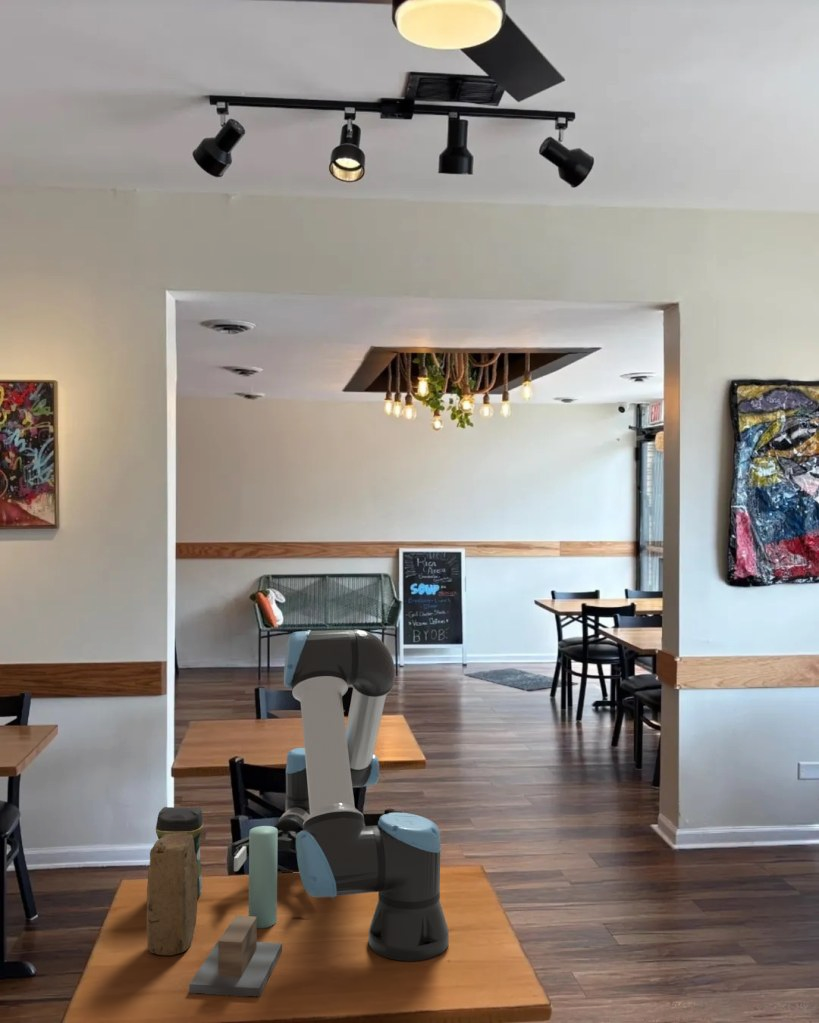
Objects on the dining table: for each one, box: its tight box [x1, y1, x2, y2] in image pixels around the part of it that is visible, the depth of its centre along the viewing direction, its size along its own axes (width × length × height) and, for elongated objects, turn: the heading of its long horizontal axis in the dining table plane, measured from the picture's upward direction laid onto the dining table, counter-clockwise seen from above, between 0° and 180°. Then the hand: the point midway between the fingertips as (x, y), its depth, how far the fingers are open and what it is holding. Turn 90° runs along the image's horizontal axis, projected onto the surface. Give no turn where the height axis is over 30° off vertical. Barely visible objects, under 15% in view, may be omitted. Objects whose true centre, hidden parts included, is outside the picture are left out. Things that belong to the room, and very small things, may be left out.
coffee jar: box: [155, 806, 204, 898], centre depth 189 cm, size 10×8×19 cm
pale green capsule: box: [248, 825, 278, 929], centre depth 178 cm, size 6×6×18 cm
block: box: [146, 833, 198, 956], centre depth 168 cm, size 11×8×20 cm
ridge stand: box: [188, 915, 283, 998], centre depth 158 cm, size 16×12×8 cm
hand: (268, 866), depth 183 cm, fingers open, 13 cm apart
